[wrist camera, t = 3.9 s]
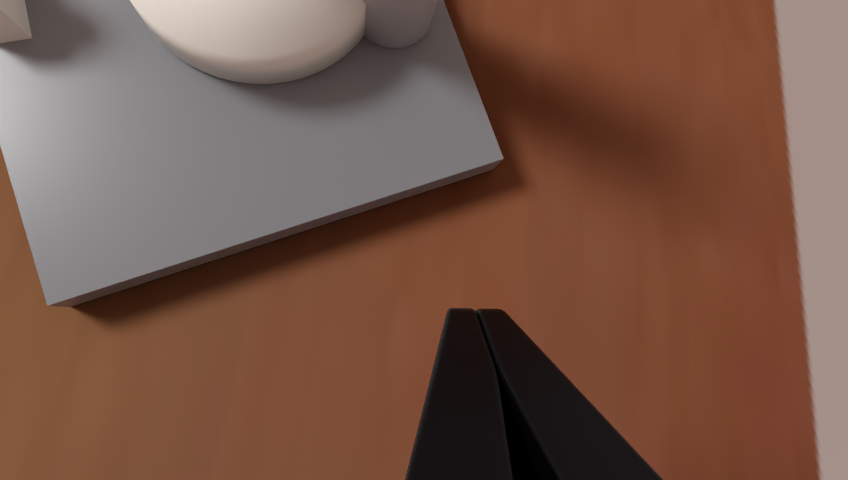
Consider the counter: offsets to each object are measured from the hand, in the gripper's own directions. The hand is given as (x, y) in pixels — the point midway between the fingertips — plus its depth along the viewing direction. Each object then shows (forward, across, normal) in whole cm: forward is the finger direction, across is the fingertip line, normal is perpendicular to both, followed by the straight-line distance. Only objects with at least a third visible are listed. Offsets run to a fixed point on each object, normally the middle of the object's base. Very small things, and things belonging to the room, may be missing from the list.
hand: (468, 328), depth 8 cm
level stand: (+16, +6, +1) cm, 18 cm away
